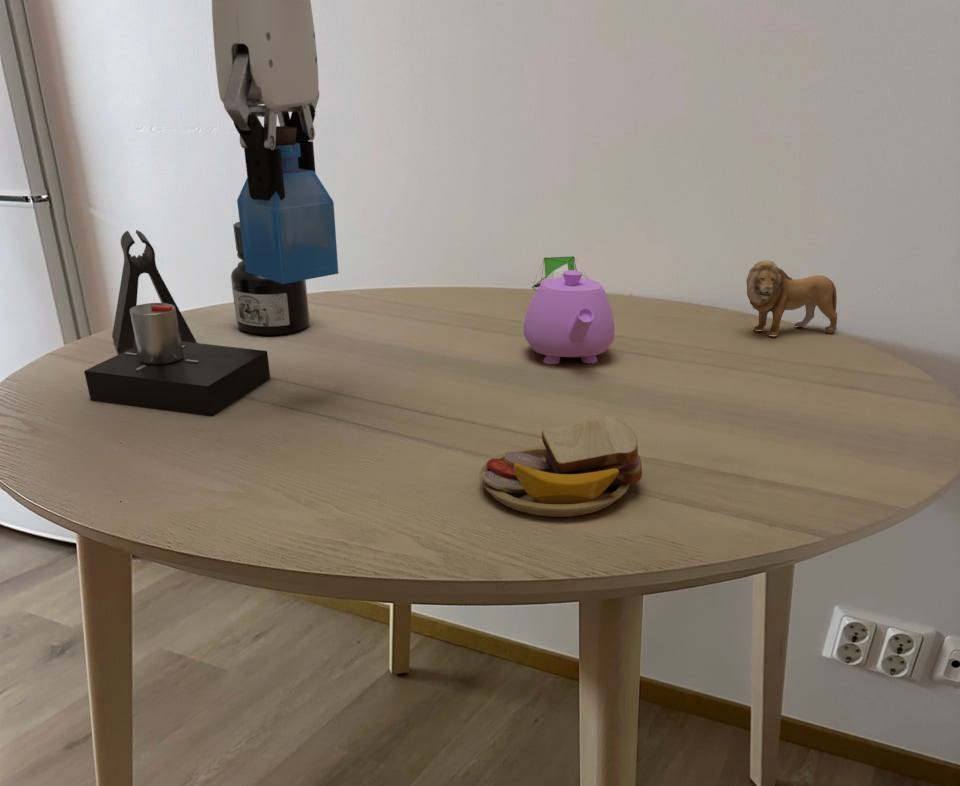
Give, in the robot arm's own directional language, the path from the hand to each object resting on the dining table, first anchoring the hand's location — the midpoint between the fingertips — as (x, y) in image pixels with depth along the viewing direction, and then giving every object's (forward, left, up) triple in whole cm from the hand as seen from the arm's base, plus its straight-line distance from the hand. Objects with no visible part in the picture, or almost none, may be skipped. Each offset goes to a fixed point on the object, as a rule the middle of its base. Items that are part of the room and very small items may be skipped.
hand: (284, 192), depth 83 cm
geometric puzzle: (+16, +44, -20) cm, 51 cm away
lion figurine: (+46, +42, -20) cm, 66 cm away
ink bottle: (-16, +23, -20) cm, 34 cm away
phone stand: (-26, +12, -20) cm, 35 cm away
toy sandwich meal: (+29, -12, -20) cm, 37 cm away
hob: (-14, -1, -19) cm, 24 cm away
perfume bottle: (0, 0, -7) cm, 7 cm away
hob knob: (-16, -1, -16) cm, 23 cm away
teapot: (+22, +23, -20) cm, 38 cm away
